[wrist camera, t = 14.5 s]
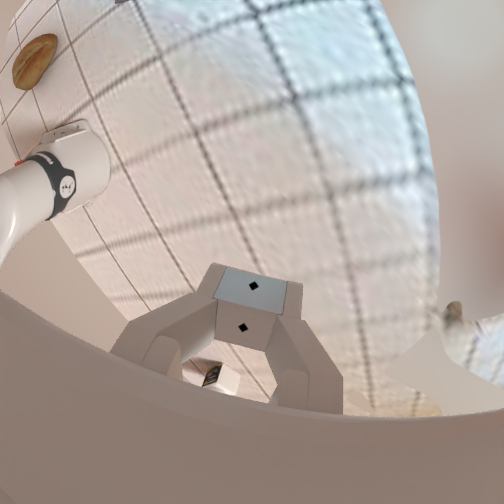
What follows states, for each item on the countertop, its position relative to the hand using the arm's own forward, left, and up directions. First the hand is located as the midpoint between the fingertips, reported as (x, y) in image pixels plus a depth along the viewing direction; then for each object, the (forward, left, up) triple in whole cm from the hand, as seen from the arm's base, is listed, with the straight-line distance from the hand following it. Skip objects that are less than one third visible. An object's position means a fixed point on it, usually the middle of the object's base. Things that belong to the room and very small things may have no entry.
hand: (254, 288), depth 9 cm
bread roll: (-55, +14, -34) cm, 67 cm away
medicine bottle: (-5, -64, -34) cm, 73 cm away
